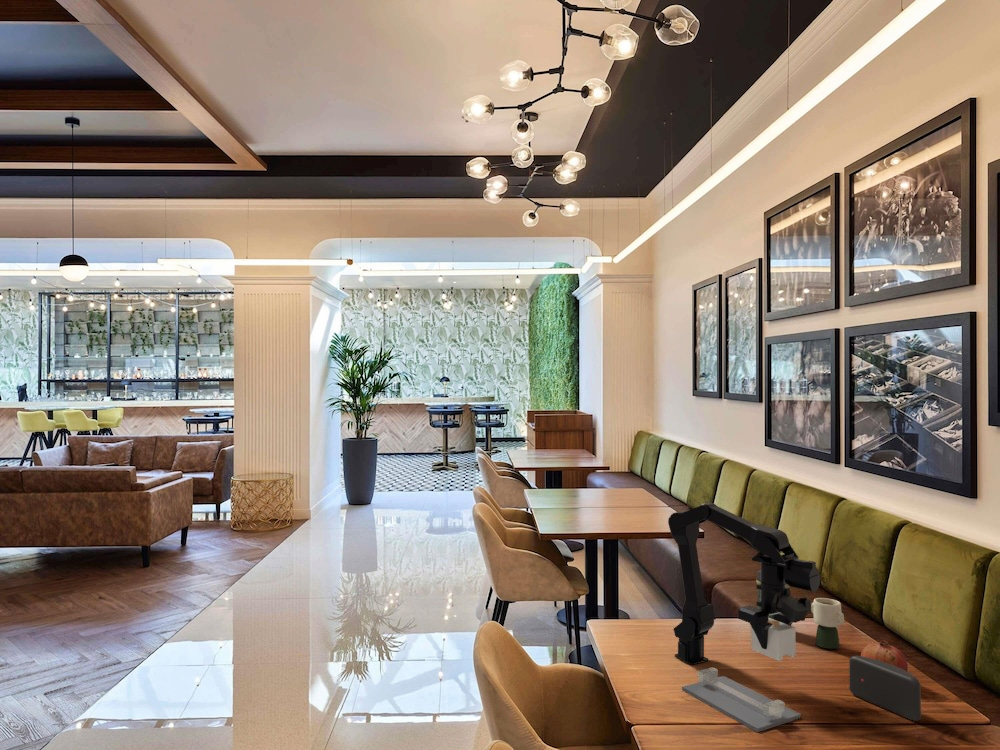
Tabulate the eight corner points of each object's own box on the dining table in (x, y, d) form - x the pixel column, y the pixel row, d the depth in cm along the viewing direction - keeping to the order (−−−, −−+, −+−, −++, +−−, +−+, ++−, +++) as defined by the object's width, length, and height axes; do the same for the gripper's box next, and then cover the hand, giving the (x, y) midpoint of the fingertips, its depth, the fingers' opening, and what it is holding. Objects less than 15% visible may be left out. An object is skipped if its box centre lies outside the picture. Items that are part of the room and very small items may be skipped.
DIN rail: (712, 680, 159) (712, 666, 159) (785, 717, 140) (785, 702, 141) (697, 683, 157) (697, 670, 157) (769, 722, 138) (769, 707, 138)
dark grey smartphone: (929, 720, 142) (929, 677, 142) (917, 725, 140) (917, 681, 140) (859, 690, 156) (859, 651, 157) (847, 694, 154) (847, 654, 155)
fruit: (917, 691, 156) (916, 650, 157) (875, 690, 157) (874, 648, 157) (892, 673, 167) (892, 634, 167) (853, 671, 167) (853, 633, 168)
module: (767, 645, 162) (767, 614, 162) (795, 656, 155) (795, 624, 155) (751, 649, 159) (751, 617, 160) (778, 661, 152) (778, 627, 152)
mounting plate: (723, 679, 161) (723, 675, 161) (800, 717, 142) (800, 714, 142) (682, 690, 155) (682, 686, 155) (757, 732, 135) (757, 728, 135)
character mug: (853, 652, 180) (852, 606, 181) (834, 656, 178) (834, 608, 178) (821, 639, 190) (820, 594, 191) (802, 641, 188) (802, 597, 188)
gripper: (775, 596, 146) (775, 665, 146) (827, 586, 155) (827, 651, 154) (736, 583, 156) (736, 648, 155) (787, 574, 165) (787, 636, 164)
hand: (772, 646), depth 157 cm, fingers closed on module, 6 cm apart
